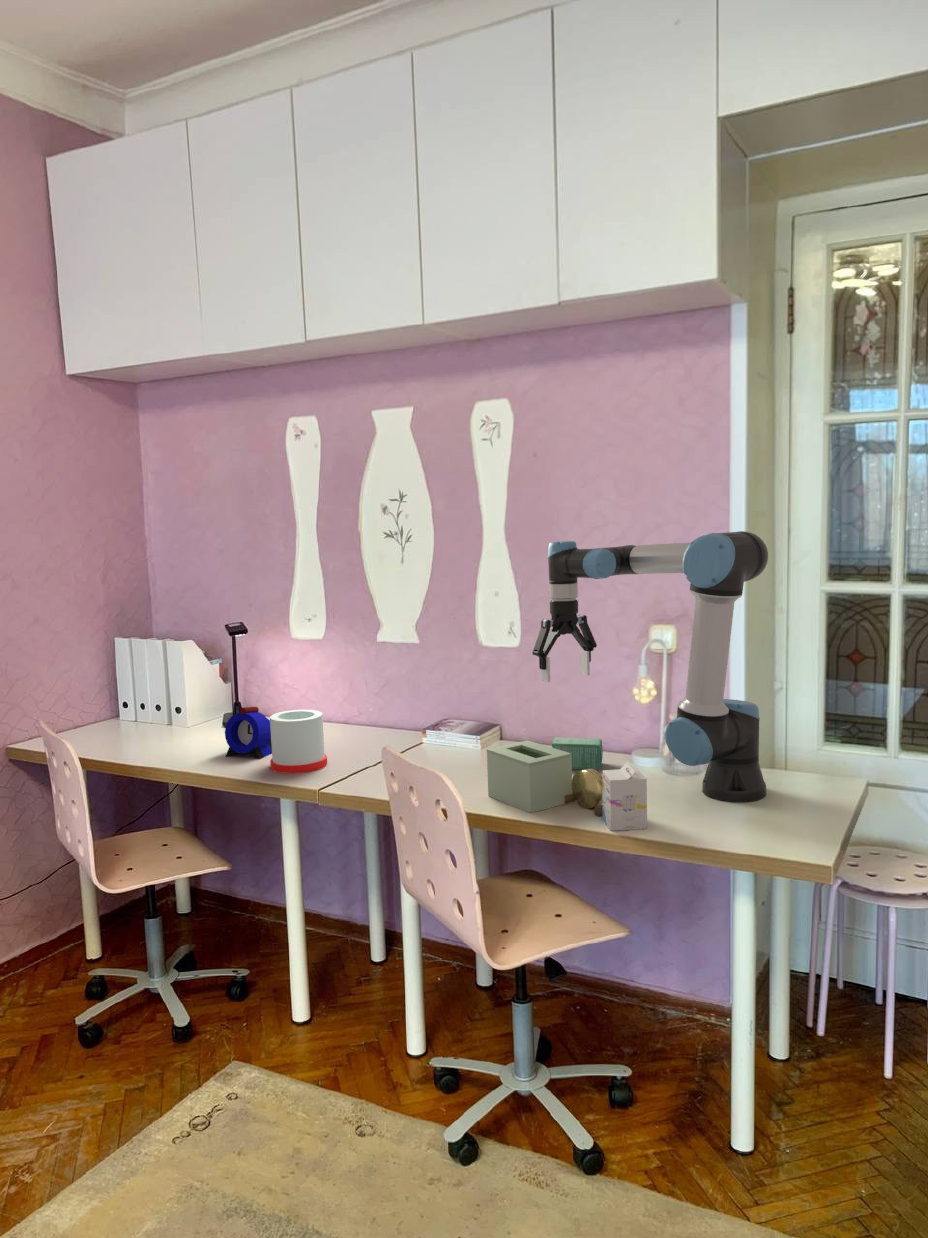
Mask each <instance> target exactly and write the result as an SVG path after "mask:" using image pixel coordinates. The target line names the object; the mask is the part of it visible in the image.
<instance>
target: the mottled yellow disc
mask: <svg viewBox="0 0 928 1238" xmlns="http://www.w3.org/2000/svg"><path fill="white" fill-rule="evenodd" d="M572 792H573V795H574V798H575V800H576V801H575V802H576V803H577V804H578V805H579V806H580V807H581V808H583V809H586V810H588V809H592V808H595V806H598V805H602V804H603V775H602V774H601V773H600V772H599V770H595V769H586V770H578V771H576V772H575V773H574V774H573V775H572Z"/></svg>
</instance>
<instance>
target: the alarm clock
mask: <svg viewBox="0 0 928 1238" xmlns="http://www.w3.org/2000/svg"><path fill="white" fill-rule="evenodd" d="M259 711H260V710H259V707H258V706H249V707H247V706H246V707H240V708H239V712H237V713H235V714H233V715H231V717H230V718H229V719H228V720H227V723H226V724H225V728H224V737H225V740H226V744H227V745H228V746H229V747H228V749H227V752H226V754H225V757H228V756H230V755H234V754H236V753H238V754H247V753H249V755H251V756H253V757H255V758H256V759H258V760H261V759H264V758H266V757H268V756H270V755H272V745H271V729H270V718H269V719H268V717H266V715H264V714H263V713H261V712H259Z"/></svg>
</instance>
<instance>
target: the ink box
mask: <svg viewBox="0 0 928 1238" xmlns="http://www.w3.org/2000/svg"><path fill="white" fill-rule="evenodd" d="M602 777H603V816H602V820H603V821H604V822H605V825H606V826H607V827H608V829H609V830H610V831H614V832H617V831H630V830H633V831H634V830H646V829H648V798H647V797H648V793H647V787H648V786H647V785H648V784H647V777H646V776H645V775H644V774H643V773H642V772H641V770H640V768H637V767H636V768H633V766H632V765H631V764H630V762H628V761H627V762H625V763H624V765H622V766H621V768H620V769H619V768H618V769H605V770H602Z"/></svg>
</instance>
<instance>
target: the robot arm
mask: <svg viewBox="0 0 928 1238" xmlns="http://www.w3.org/2000/svg"><path fill="white" fill-rule="evenodd" d="M547 549H548V550H547V551H548V553H547V562H548V580H549V581H548V583H549V584H548V587H549V589H548V590H549V592H548V593H549V599H551V600H550V601H549V614H550V616H551V617H550V619H546V618H545V619H544V618H543V619H542V620H541V622H540V624H541V625H540V630H539V632H538V636H537V638H536V641H535V643H534V647H533V650H532V655H533V656H536V657H537V658H538V659H539V660H538V667H539V669H540V670H541V682H545V683H551V662H550V661H551V660H550V657H549V656H548V655H549V653H550V652H551V650H552V648H553V647H554V645H555V644H556V642H557V639H558V638H560V637H561V636H563V635H566V634H567V635H569V634H570V635H572V637H573V638H574V639H575V640H576V642H577V643H578V644H579V646H580V647H581V649H582V650H580V674H581V675H583V676H590V675H591V671H590V670H591V669H590V663H591V662H592V652H593V651H594V650H595V648H597V646H598V645H597V642H596V640H595V636H594V635H593V633H592V630H591V629H590V626H589V623H588V616H587V615H585V614H579V600H578V599H577V598H578V597H579V594H578V593H579V591H578V589H579V585H578V584H579V583H578V578H582V579H583V578H584V579H594V580H600V579H601V580H602V579H608V578H610V577H613V576H622V575H624V576H625V575H644V574H647V575H649V574H684V575H685V576H686V577H685V579H686V580H687V581H688V582H689V584H690V585H689V592H690V593H691V594H692V595H693V596H694V597H695V603H694V611H693V621H692V632H691V641H690V651H689V661H688V670H687V681H686V688H685V697H684V698H683V699H681V700H680V701H679V702H678V704H677V709H676V710H677V711H676V717H675V718H673V719H672V720H671V721H670V722H669V723H668V724H667V726H666V728H665V734H664V735H665V736H664V738H665V743H666V746H667V749H668V750H669V751H670V752H671V754H672V756H673V758H675V759H676V760H677V761H678V762H680V763H681V764H683V765H685V766H690V767H694V766H700V765H701V766H702V765H706V764H707V767H706V770H705V774H704V777H703V779H702V782H701V783H702V793H703V795H705V796H707V797H709V798H712V799H713V800H714V799H715V800H719V801H725V802H726V801H727V802H734V803H735V802H738V803H743V802H753V801H758V800H761V799H763V798H765V797H766V796H767V785H766V782H765V779H764V776H763V772H762V769H761V766H760V721H761V719H760V714H759V713H760V712H759V710H760V709H759V706H758V705H757V704H755V703H754V702H751V701H747V700H741V699H740V700H739V699H733V698H732V699H731V698H729V699H728V698H724V697H725V688H726V679H727V672H728V670H727V669H728V663H729V655H730V654H729V653H730V644H731V637H732V627H733V618H734V609H735V602H737V600H739V598H741V597H742V596H743V593H744V592H743V591H744V583H745V582H748V581H752V580H754V579H756V578H757V577H759V576H760V575H761V574H762V573H763V571H764V570H766V569H765V568H766V567H767V564H768V562H769V551H768V547H767V545H766V543H765V542H764V540H763V539H762V538H761V537H759V536H758V535H757V534H755V533H753V532H751V531H750V532H749V531H740V530H739V531H732V532H731V531H730V532H729V531H727V532H712V533H711V532H710V533H708V534H705V535H700V536H698V537H697V538H694V540H693V541H689V542H674V543H659V544H658V543H655V544H654V543H653V544H638V545H635V544H634V545H633V544H628V545H621V546H610V547H598V548H597V547H595V548H578V547H577V542H576V541H575V540H557V541H551V542H550V543H549V544H548V548H547Z"/></svg>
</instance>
